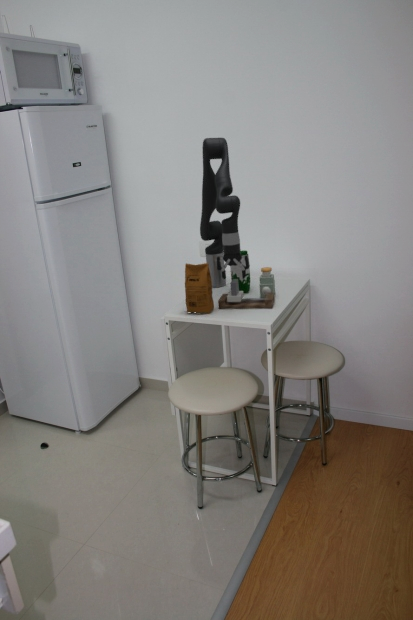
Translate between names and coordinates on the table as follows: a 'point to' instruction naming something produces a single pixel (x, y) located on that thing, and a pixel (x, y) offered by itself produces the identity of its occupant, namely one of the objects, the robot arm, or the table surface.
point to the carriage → (235, 292)
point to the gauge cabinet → (267, 285)
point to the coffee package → (198, 288)
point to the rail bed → (247, 302)
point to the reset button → (266, 271)
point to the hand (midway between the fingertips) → (234, 278)
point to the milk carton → (237, 274)
